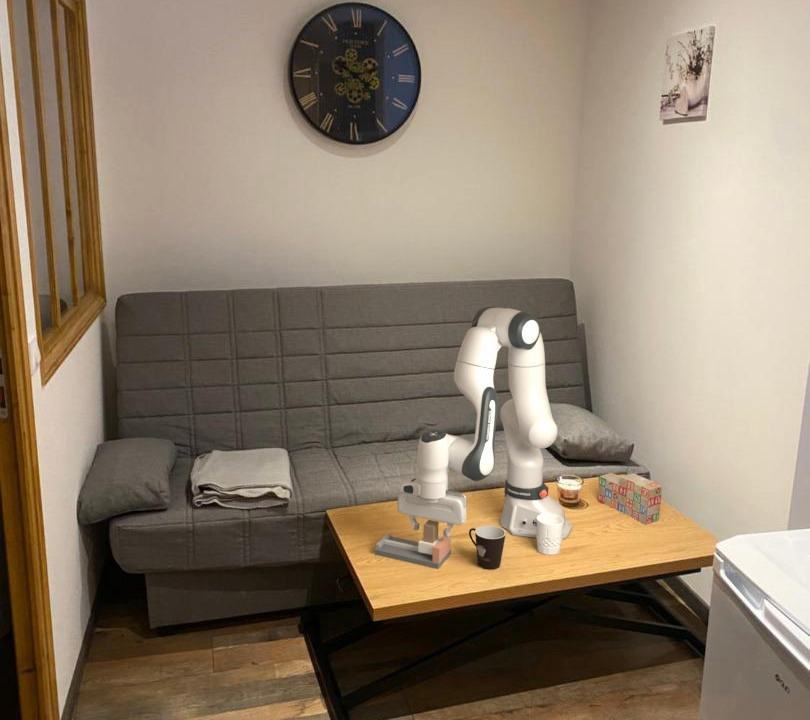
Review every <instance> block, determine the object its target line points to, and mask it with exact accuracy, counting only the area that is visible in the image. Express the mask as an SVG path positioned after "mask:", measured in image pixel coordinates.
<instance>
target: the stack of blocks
mask: <svg viewBox="0 0 810 720" xmlns="http://www.w3.org/2000/svg"><path fill="white" fill-rule="evenodd" d="M662 490H663V485H661V484H659V483H656V482H655V481H653V480H651V479H649V478H646V477H643V476H640V475H638V474H636V473H634V472H633V473H632V472H631V473H628V474H626V475H622V476H621V475H619V474H618V475H617V474H615V473H614V472H609V473H606V474H602V475H600V476H599V477H598V490H597V493H598V494H597V502H599V503H601V504H602V505H603V504H605V506H606V505H608V506H610V507H609V508H611V507H612V508H614V509H616V510H618V511H617V512H619V511H620V512H619V513H621V512H623V513H624V514H623V513H622V514H623V515H625V514H626V515H625V516H627V515H628V516H627V517H629V516H630V517H629V518H631V517H632V518H631V519H633V518H634V519H633V520H635V519H636V521H637V522H640V523H641V524H643V525H649V524H652V523H655V522H659V517H660V510H661V509H660V508H661V502H662V501H661V500H662V493H663V492H662ZM608 506H607V507H608ZM612 508H611V509H612ZM614 509H613V510H614ZM616 510H615V511H616Z"/></svg>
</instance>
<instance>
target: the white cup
mask: <svg viewBox="0 0 810 720" xmlns="http://www.w3.org/2000/svg"><path fill="white" fill-rule="evenodd" d="M563 524H564V519H563V518H562V517H561V516H559V515H556V514H552V513H544V514H540V515H538V516H537V527H536V528H537V529H536V537H537V538H536V550H537V552H539V553H540V554H542V555H545V556H547V555H548V556H554V555H558V554H559V553H560V551H561V543H562V540H563V539H562V533H563Z"/></svg>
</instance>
